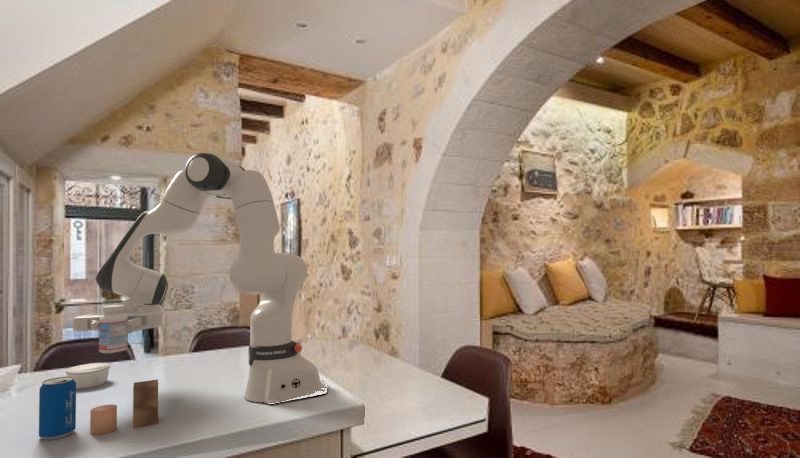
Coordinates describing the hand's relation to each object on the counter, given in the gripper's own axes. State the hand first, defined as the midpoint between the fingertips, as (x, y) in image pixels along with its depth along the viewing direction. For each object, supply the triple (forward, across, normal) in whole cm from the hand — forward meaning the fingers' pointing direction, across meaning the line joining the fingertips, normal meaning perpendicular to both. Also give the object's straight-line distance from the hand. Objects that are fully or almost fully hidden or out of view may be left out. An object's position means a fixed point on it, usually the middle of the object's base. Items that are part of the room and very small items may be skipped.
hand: (112, 325), depth 113 cm
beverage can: (+10, -8, +22) cm, 26 cm away
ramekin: (-33, -14, +22) cm, 42 cm away
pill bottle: (-1, 0, +7) cm, 7 cm away
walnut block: (+9, +9, +22) cm, 25 cm away
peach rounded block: (+11, +1, +22) cm, 25 cm away
